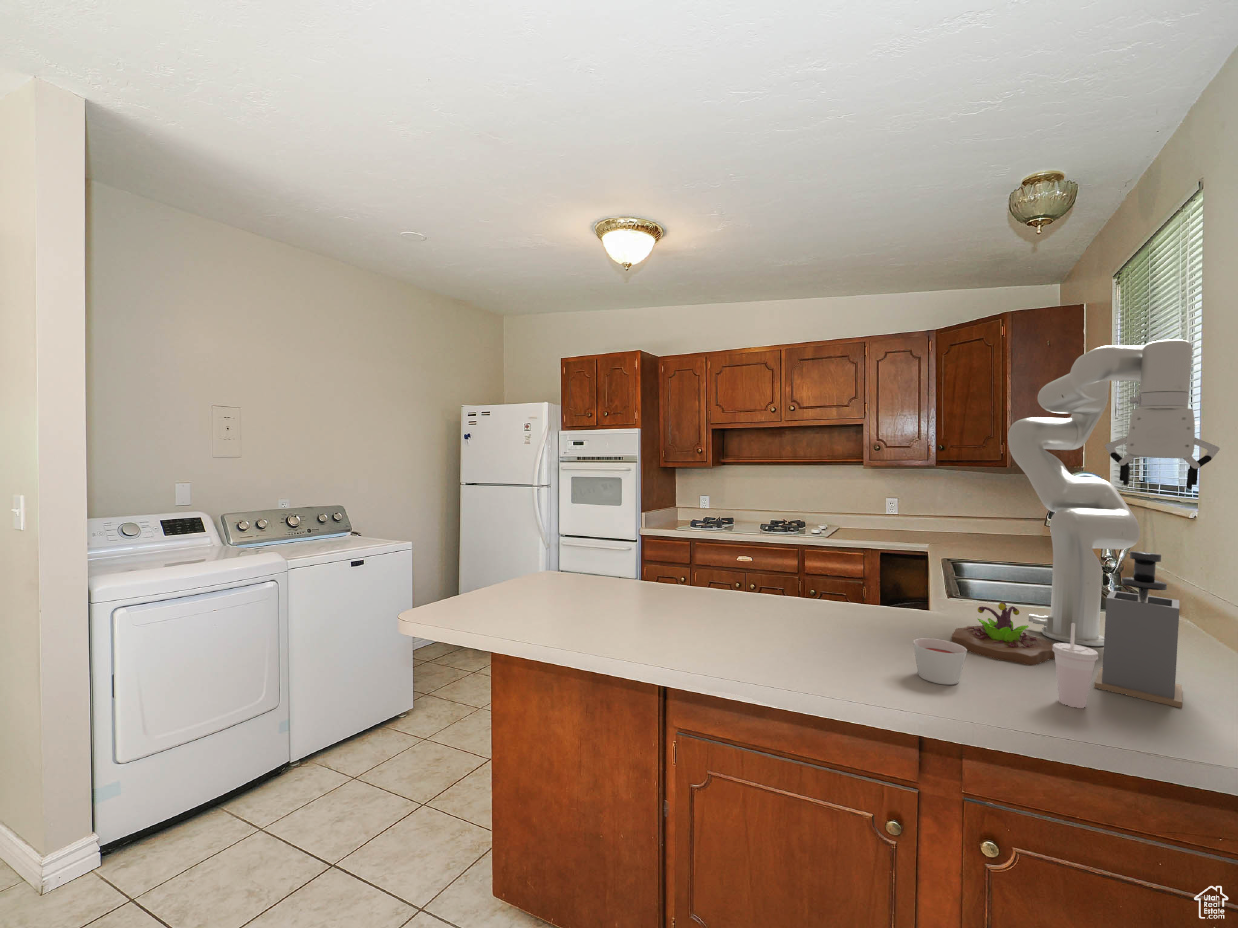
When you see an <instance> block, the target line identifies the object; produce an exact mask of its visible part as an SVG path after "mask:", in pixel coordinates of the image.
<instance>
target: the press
mask: <svg viewBox="0 0 1238 928" xmlns="http://www.w3.org/2000/svg"><path fill="white" fill-rule="evenodd" d="M1105 600H1106V601H1105V615H1104V616H1105V621H1104V635H1103V637H1104V646H1103V652H1102V653H1103V657H1102V667H1100V668H1099V671H1098V673H1097V675H1096V679H1095V681H1094V684H1093V686H1094V687H1093V689H1097V688H1100V689H1099V690H1103V691H1106V690H1108V691H1107V692H1110V691H1113V692H1112V693H1114V694H1115V693H1116V694H1119V693H1121V694H1120V695H1123V694H1127V695H1126V696H1128V697H1132V696H1134V697H1133V698H1136V697H1139V698H1138V699H1142V700H1146V701H1150V702H1154V703H1159V704H1163V705H1167V706H1172V707H1175V708H1179V709H1182V708H1183V686H1182V685H1183V684H1181V683H1176V676H1177V659H1178V640H1179V625H1180V624H1179V623H1180V621H1179V620H1180V599H1173V598H1167V597H1161V596H1154V595H1153V596H1152V595H1148V603H1144V602H1138V593H1131V592H1126V591H1125V592H1124V591H1118V590H1110V591H1109V593H1108V594H1107V596H1106V599H1105Z"/></svg>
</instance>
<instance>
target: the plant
mask: <svg viewBox="0 0 1238 928" xmlns="http://www.w3.org/2000/svg"><path fill="white" fill-rule="evenodd" d="M997 606H998V609H999V610H1000V611H1001V614H1000V615H999V614H998V613H997V612H996V611H995V610H994V609H992V608H990V607H988V606H979V607H977V612H978V613H979V614H983V613H984V611H985V610H986V611H988V612H991V614H993V616H994V617H995V618H996V621H995V620H993V619H991V618H990V617H988V618H987V621H988V622H987V621H985V620H983V619H980V618H977V621H978V622H979V623H980V624H982V625H967V626H966V627H956V628H955V629H954V631H953V632H952V633H951V642H953V643H956V644H959V645H961V646H963V647H965V648H966V649H967V652H969V653H972V654H975V655H978V656H984V657H987V658H989V659H994V660H998V659H999V661H1007V662H1012V663H1013V662H1014V663H1018V662H1019V663H1020V664H1024V665H1027V664H1028V665H1027V666H1036V664H1037V665H1039V664H1041V663H1046V662H1047V661H1049V660H1055V653H1054V651H1052V649H1053V643H1052V642H1051V641H1049V640H1047V639H1043V638H1041V637H1037V636H1033V635H1029V634H1027V633H1026V632H1025V630H1026V629H1028V628H1030V627H1029V626H1030V625H1020V626H1018V627H1016V628H1015V627H1014V622H1013V620H1011V614H1012V613H1013V614H1014V615H1015V616H1018V615H1020V610H1019V609H1018V608H1016V607H1015V606H1014V605H1012V606H1010V607H1009V608H1007V604H1006V601H1001V602H999V604H998V605H997ZM1053 658H1054V659H1053ZM1048 659H1049V660H1048ZM1045 661H1046V662H1045ZM1040 662H1041V663H1040ZM1019 663H1018V664H1019Z"/></svg>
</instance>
